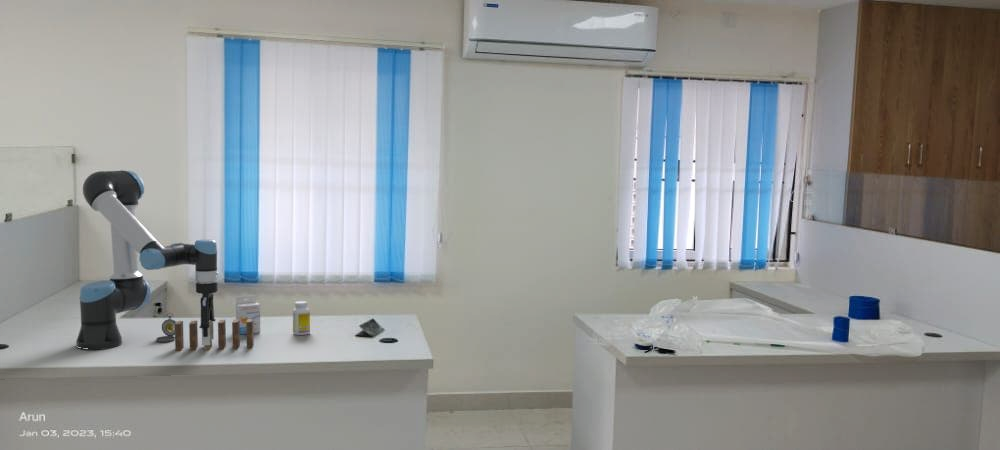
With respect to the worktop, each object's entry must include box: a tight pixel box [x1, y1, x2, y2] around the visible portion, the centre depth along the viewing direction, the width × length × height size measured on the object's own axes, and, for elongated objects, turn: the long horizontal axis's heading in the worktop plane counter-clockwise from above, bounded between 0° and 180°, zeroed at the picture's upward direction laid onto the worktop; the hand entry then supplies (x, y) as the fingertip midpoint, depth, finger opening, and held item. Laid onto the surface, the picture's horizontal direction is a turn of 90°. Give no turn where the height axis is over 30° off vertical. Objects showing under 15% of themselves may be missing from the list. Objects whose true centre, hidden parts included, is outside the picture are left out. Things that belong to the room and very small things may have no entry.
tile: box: [203, 320, 213, 351], centre depth 293 cm, size 2×5×10 cm, turn 12°
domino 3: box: [217, 319, 227, 350], centre depth 294 cm, size 2×5×10 cm, turn 12°
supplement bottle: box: [292, 300, 311, 336], centre depth 317 cm, size 7×7×13 cm
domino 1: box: [174, 320, 185, 352], centre depth 290 cm, size 2×5×10 cm, turn 12°
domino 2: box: [188, 320, 199, 351], centre depth 292 cm, size 2×5×10 cm, turn 12°
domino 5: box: [245, 319, 255, 349], centre depth 296 cm, size 2×5×10 cm, turn 12°
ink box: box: [235, 294, 261, 335], centre depth 317 cm, size 8×5×15 cm, turn 123°
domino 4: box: [231, 318, 241, 350], centre depth 295 cm, size 2×5×10 cm, turn 12°
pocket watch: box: [155, 312, 177, 343], centre depth 304 cm, size 8×8×10 cm
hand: (207, 342), depth 293 cm, fingers open, 8 cm apart
